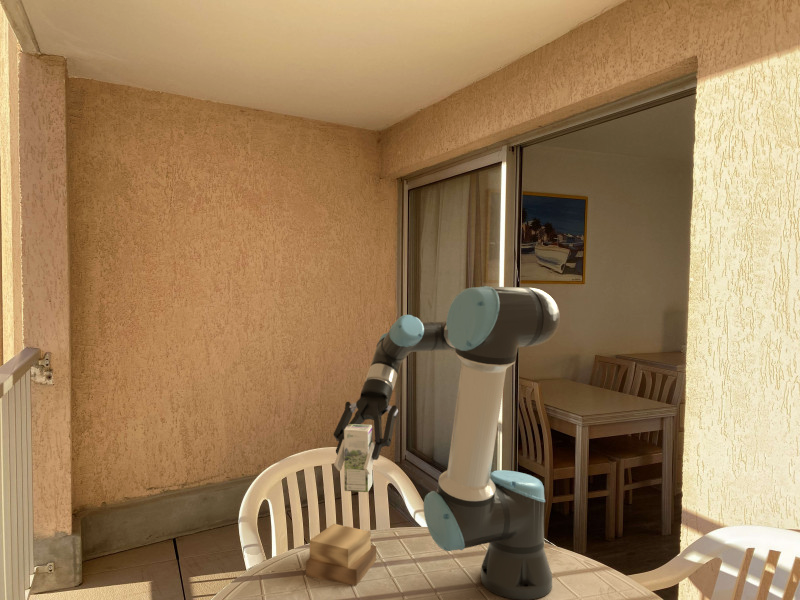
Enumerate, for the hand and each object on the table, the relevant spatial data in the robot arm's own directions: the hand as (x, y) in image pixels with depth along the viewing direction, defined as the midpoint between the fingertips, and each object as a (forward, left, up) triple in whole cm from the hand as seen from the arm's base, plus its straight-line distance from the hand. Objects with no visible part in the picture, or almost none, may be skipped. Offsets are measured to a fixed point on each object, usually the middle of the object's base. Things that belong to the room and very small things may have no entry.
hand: (351, 469), depth 129 cm
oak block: (+2, +2, -19) cm, 19 cm away
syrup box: (+1, -3, -6) cm, 7 cm away
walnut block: (+1, +2, -23) cm, 23 cm away
